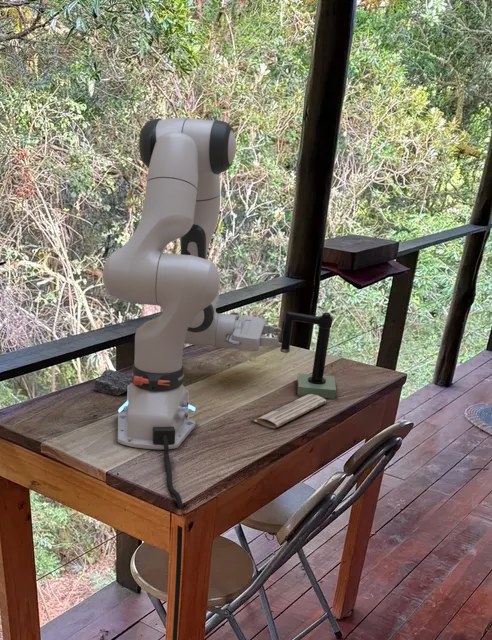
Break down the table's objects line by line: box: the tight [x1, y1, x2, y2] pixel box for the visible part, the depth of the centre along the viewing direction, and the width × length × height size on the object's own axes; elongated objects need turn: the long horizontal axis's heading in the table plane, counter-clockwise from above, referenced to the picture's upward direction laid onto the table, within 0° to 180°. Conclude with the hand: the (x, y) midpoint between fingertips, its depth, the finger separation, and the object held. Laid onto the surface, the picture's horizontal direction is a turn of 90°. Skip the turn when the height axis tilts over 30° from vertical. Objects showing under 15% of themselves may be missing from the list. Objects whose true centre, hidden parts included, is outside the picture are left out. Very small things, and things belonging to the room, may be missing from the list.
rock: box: [94, 369, 132, 396], centre depth 197 cm, size 8×10×4 cm
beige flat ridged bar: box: [253, 394, 327, 429], centre depth 189 cm, size 24×7×2 cm, turn 140°
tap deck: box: [296, 372, 337, 400], centre depth 204 cm, size 11×10×2 cm
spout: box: [280, 311, 334, 354], centre depth 199 cm, size 13×3×12 cm, turn 64°
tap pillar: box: [308, 326, 331, 384], centre depth 200 cm, size 5×5×15 cm
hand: (279, 336), depth 202 cm, fingers open, 8 cm apart
